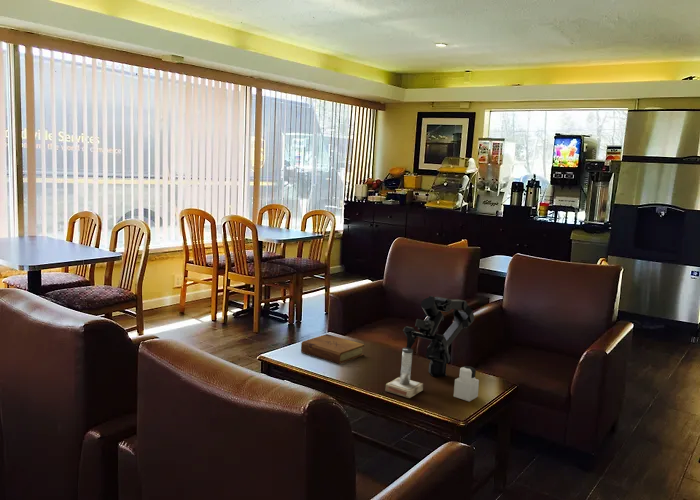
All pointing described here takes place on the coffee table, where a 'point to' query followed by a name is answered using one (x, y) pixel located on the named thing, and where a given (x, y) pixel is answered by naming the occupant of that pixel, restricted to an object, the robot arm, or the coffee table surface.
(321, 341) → the diary
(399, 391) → the cream napkin pack
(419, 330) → the robot arm
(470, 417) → the coffee table surface
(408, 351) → the steel flask
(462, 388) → the medicine bottle
